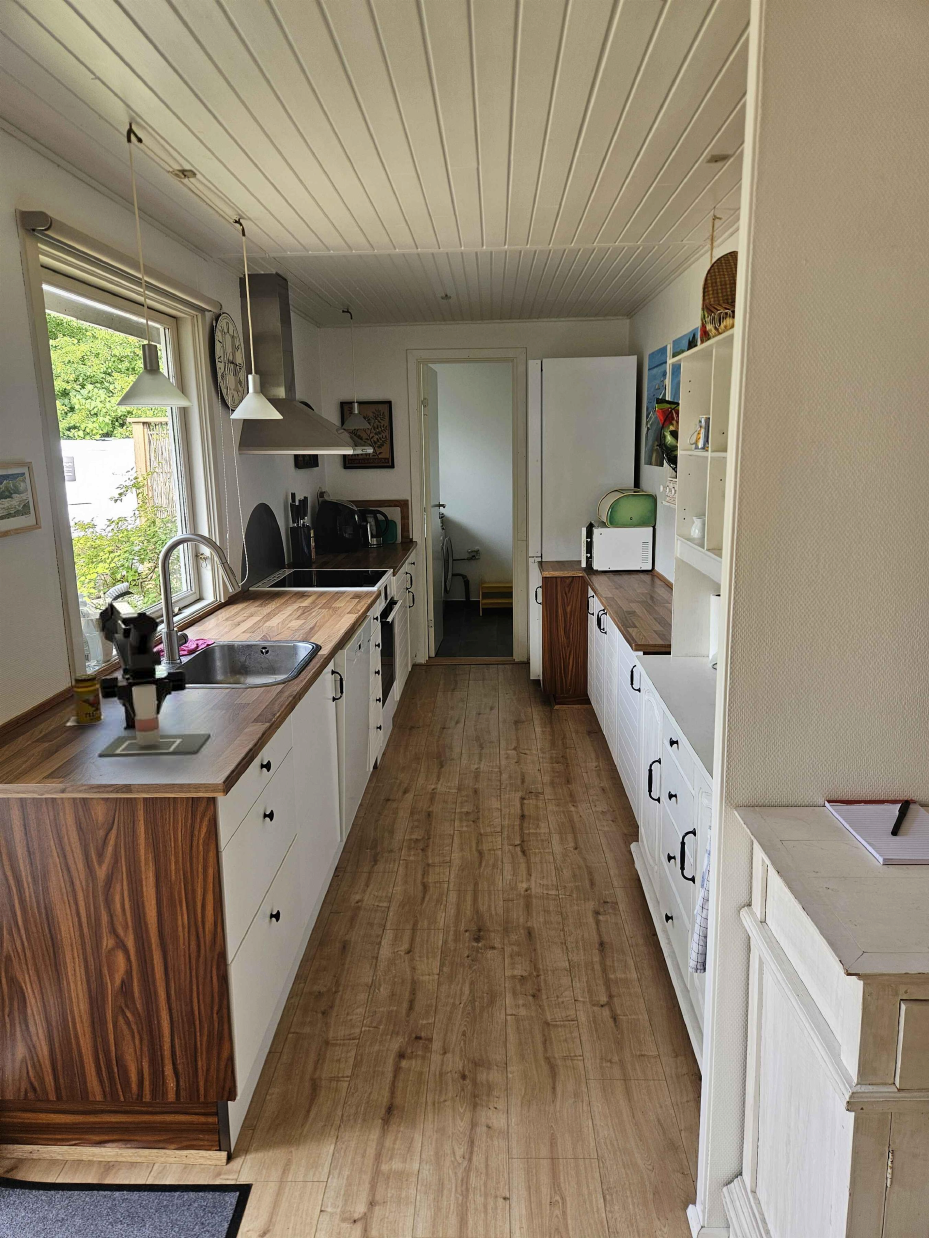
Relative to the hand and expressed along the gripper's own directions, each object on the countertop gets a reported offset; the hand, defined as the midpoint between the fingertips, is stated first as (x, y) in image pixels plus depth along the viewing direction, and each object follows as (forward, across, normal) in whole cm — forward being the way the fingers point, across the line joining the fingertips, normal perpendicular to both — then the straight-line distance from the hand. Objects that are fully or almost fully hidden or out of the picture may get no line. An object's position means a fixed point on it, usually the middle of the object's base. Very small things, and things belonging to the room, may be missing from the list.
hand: (146, 715), depth 192 cm
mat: (+4, +2, +8) cm, 9 cm away
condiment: (-16, -15, +29) cm, 37 cm away
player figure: (+4, 0, +6) cm, 7 cm away
